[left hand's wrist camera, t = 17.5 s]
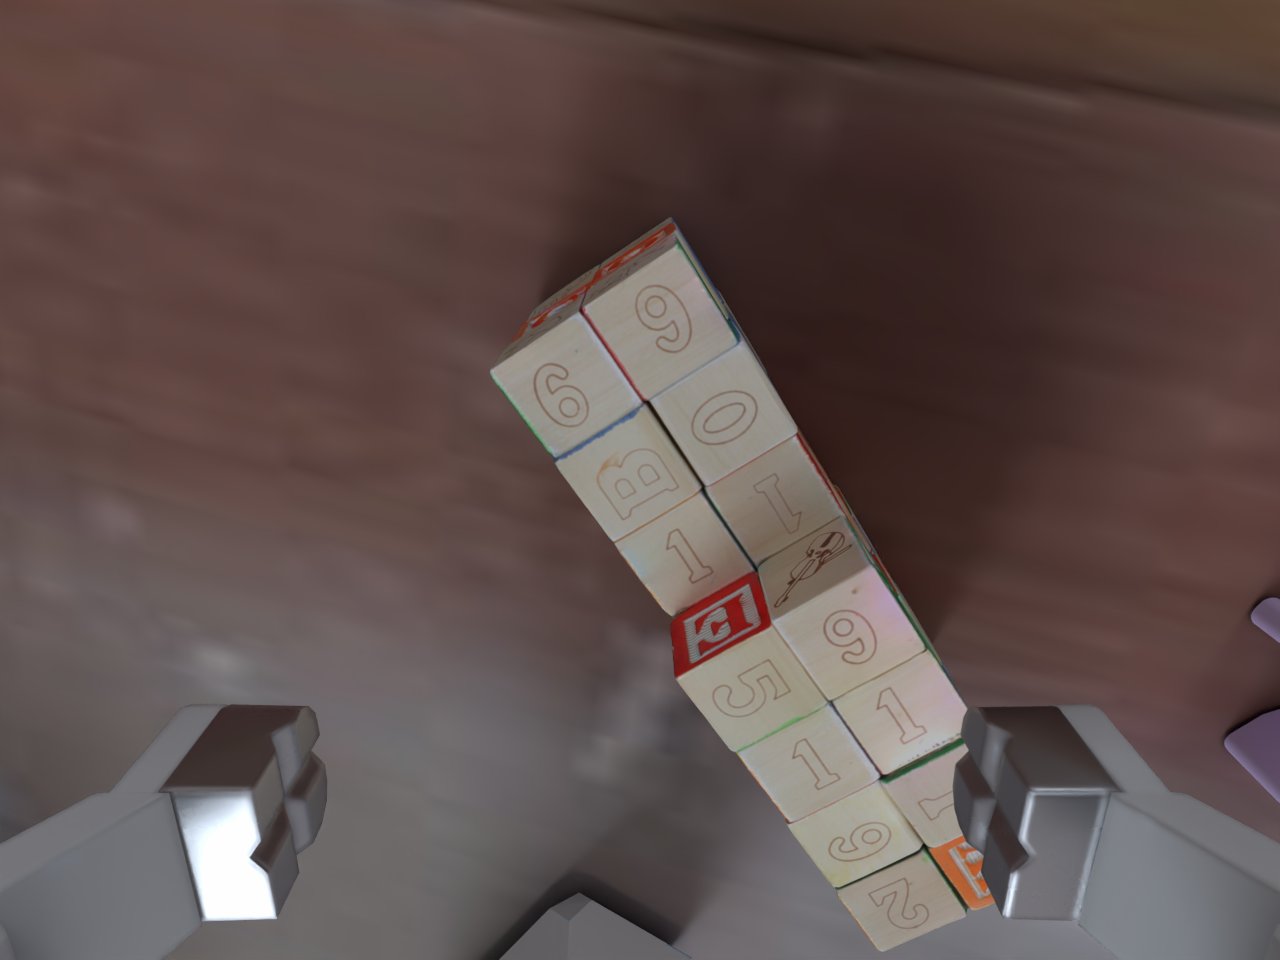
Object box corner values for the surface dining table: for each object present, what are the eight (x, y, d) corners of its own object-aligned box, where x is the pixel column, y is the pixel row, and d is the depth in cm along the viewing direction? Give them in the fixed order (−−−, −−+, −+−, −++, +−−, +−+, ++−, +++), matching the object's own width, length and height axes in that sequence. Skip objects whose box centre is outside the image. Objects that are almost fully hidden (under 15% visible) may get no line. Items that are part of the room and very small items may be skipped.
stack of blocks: (527, 308, 31) (460, 397, 20) (671, 211, 30) (690, 246, 18) (807, 715, 37) (881, 963, 26) (936, 650, 36) (1072, 879, 25)
